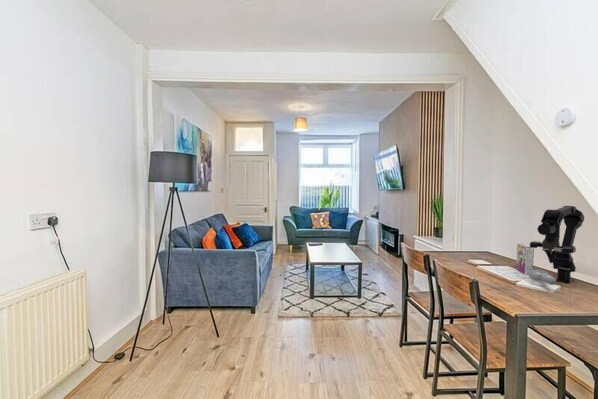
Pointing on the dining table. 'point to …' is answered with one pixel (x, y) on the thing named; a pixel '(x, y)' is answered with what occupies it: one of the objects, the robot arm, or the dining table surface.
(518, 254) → the candy bar box
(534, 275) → the duct elbow
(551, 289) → the duct base
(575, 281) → the dining table surface
